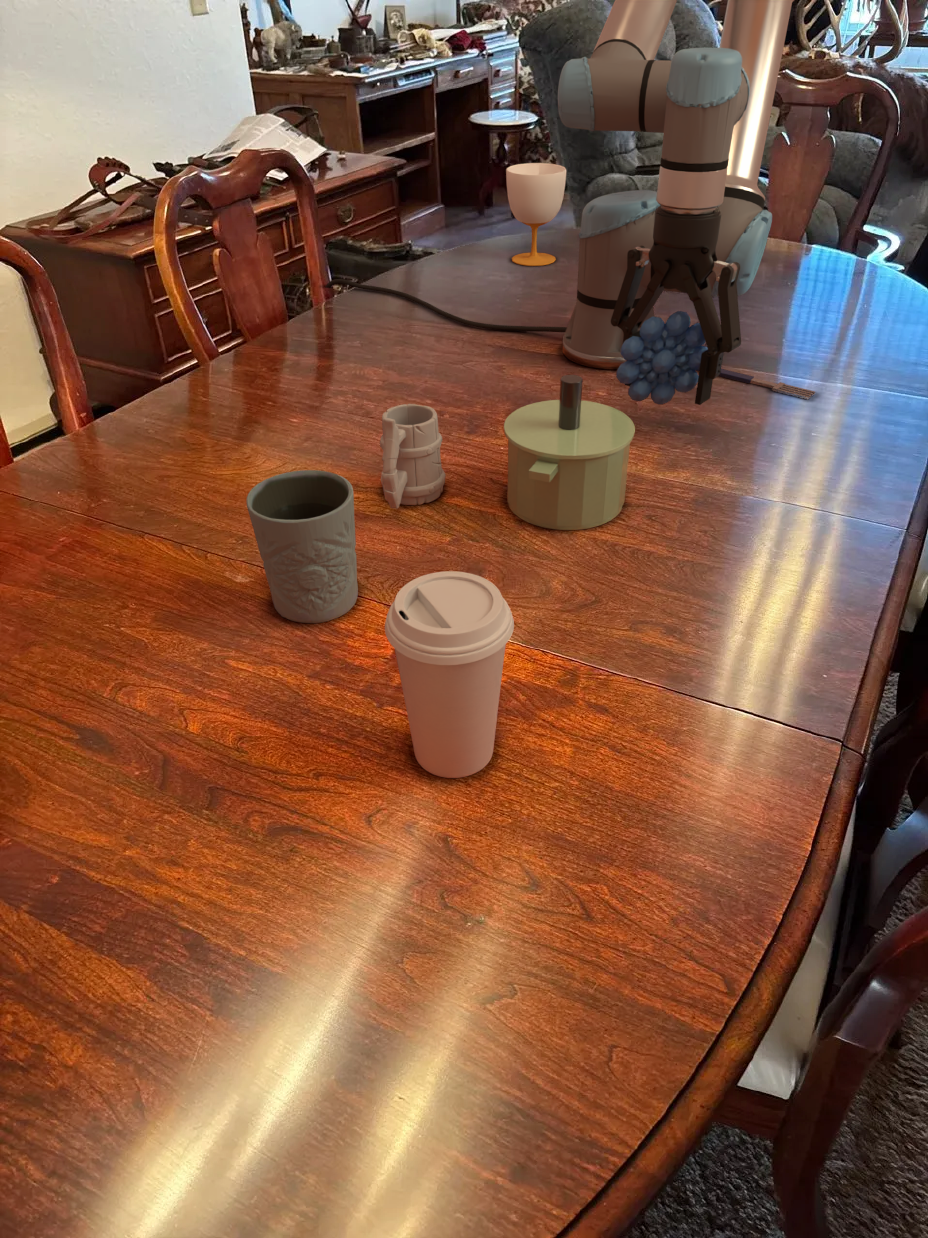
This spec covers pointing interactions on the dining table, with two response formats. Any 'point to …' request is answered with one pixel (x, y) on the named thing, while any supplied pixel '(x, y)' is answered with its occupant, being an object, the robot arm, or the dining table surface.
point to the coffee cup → (450, 667)
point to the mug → (411, 455)
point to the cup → (535, 202)
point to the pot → (566, 488)
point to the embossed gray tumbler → (307, 543)
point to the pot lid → (569, 426)
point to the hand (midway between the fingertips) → (666, 391)
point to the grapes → (662, 358)
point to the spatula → (768, 384)
